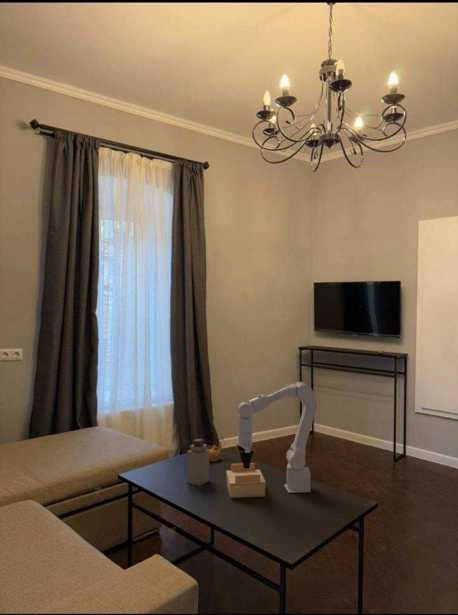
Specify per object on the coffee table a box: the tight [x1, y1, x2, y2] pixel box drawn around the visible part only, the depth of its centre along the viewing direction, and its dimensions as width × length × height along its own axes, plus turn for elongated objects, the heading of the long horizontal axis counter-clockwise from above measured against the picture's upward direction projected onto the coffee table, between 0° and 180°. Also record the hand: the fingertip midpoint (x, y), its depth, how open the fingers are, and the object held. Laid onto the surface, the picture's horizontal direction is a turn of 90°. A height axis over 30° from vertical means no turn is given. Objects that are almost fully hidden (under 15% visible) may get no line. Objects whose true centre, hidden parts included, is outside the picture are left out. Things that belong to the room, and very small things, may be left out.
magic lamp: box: [208, 435, 226, 462], centre depth 219 cm, size 7×18×11 cm, turn 125°
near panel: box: [228, 475, 267, 484], centre depth 178 cm, size 14×7×3 cm, turn 96°
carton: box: [226, 475, 266, 499], centre depth 181 cm, size 14×14×5 cm
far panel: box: [225, 462, 263, 477], centre depth 185 cm, size 14×7×3 cm, turn 96°
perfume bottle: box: [186, 438, 210, 487], centre depth 190 cm, size 7×7×18 cm
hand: (245, 464), depth 181 cm, fingers open, 7 cm apart
